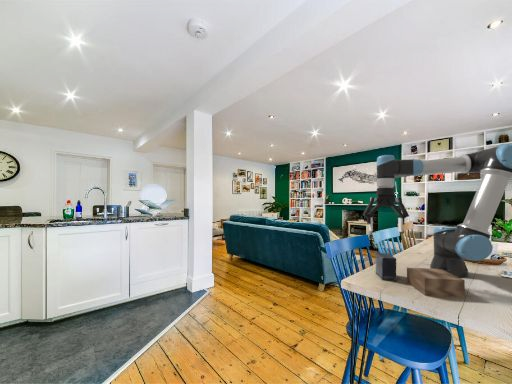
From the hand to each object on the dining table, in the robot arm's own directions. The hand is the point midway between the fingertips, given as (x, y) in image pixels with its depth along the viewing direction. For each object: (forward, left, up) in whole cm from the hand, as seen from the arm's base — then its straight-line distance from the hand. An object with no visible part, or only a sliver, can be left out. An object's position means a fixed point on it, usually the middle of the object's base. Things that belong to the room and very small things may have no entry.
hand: (385, 231), depth 113 cm
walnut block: (-13, +14, -22) cm, 29 cm away
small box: (0, 0, -22) cm, 22 cm away
